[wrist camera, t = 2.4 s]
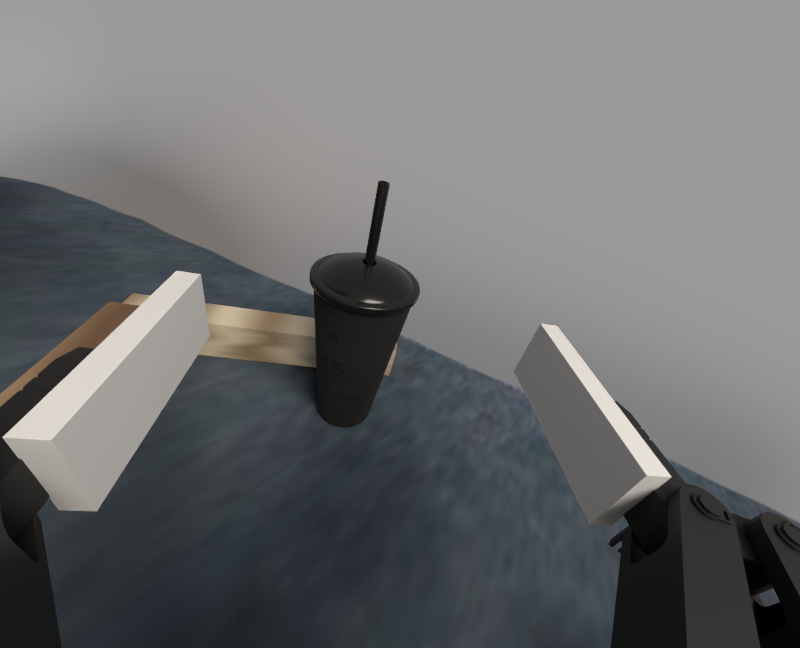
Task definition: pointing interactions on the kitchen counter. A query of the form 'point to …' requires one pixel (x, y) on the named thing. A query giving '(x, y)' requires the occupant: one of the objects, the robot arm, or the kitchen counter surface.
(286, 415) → the kitchen counter surface
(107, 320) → the wooden l-shaped block
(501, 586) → the kitchen counter surface
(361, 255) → the drinking cup
